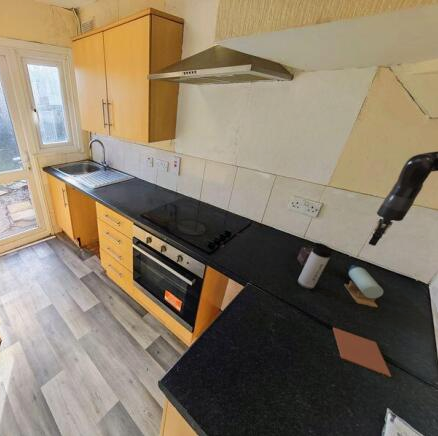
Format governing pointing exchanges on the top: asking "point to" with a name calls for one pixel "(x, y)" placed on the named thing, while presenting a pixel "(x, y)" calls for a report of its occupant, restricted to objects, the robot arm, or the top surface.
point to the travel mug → (314, 265)
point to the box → (304, 255)
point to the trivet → (360, 351)
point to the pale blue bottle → (365, 282)
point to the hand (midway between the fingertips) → (373, 241)
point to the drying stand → (359, 295)
